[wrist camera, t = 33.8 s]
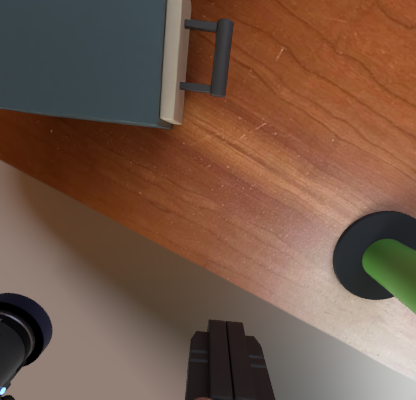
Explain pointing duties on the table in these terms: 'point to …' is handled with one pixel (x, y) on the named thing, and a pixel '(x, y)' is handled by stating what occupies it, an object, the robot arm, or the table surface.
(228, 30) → the drawer
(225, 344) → the robot arm
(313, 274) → the table surface
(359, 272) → the mat
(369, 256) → the chip tube
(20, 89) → the cabinet
